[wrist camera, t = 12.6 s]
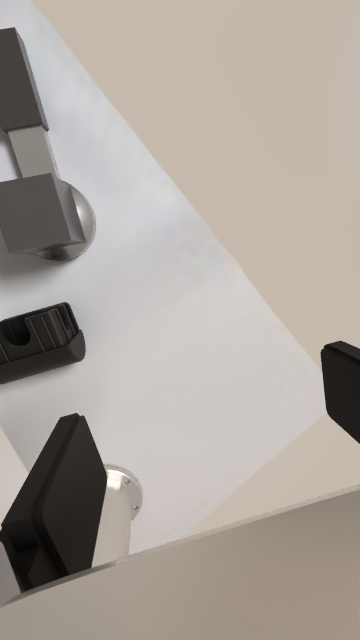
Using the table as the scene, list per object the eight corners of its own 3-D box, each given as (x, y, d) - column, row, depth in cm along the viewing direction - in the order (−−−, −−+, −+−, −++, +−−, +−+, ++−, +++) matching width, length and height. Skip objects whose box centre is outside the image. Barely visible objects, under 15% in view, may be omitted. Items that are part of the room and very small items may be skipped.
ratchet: (104, 251, 33) (96, 252, 28) (33, 266, 33) (12, 269, 28) (46, 37, 27) (23, -10, 22) (-42, 52, 27) (-86, 7, 22)
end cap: (20, 368, 36) (-8, 394, 29) (-3, 321, 34) (-39, 337, 28) (91, 348, 36) (78, 369, 30) (71, 299, 34) (53, 311, 28)
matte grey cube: (70, 188, 29) (51, 172, 24) (86, 242, 31) (71, 240, 25) (17, 198, 29) (-16, 185, 23) (36, 252, 31) (9, 252, 25)
